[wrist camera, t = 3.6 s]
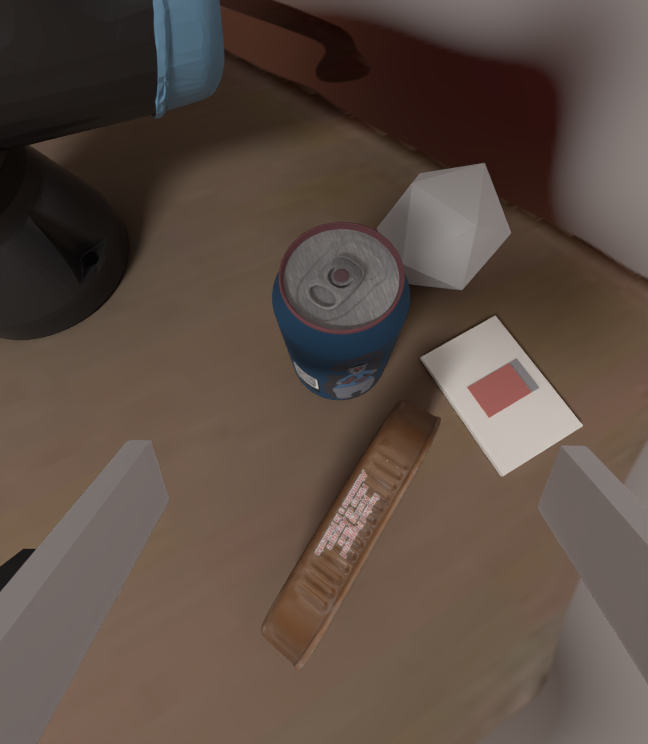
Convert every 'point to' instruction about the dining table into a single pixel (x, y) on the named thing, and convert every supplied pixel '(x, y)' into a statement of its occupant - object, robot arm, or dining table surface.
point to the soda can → (340, 307)
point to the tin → (348, 533)
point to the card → (500, 395)
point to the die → (446, 226)
